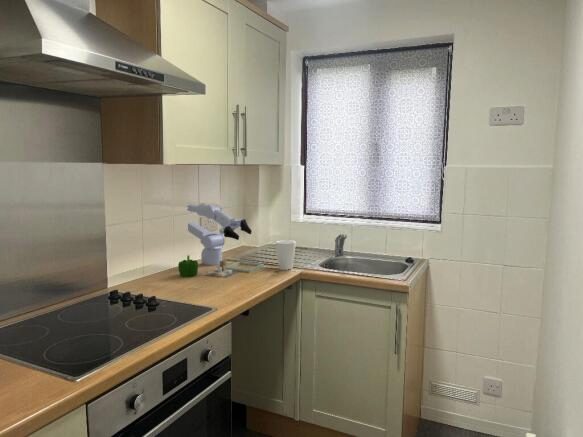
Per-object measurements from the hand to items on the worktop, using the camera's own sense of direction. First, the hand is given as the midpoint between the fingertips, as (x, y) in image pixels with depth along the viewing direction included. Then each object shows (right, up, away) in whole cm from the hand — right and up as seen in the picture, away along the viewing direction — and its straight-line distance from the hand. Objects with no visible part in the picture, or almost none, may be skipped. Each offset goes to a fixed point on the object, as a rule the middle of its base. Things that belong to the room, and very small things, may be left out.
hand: (244, 235), depth 204 cm
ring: (-10, -17, -6) cm, 21 cm away
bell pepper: (-24, -19, -8) cm, 31 cm away
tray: (-1, -17, +6) cm, 18 cm away
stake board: (-9, -18, -6) cm, 21 cm away
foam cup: (+19, -17, +10) cm, 27 cm away
